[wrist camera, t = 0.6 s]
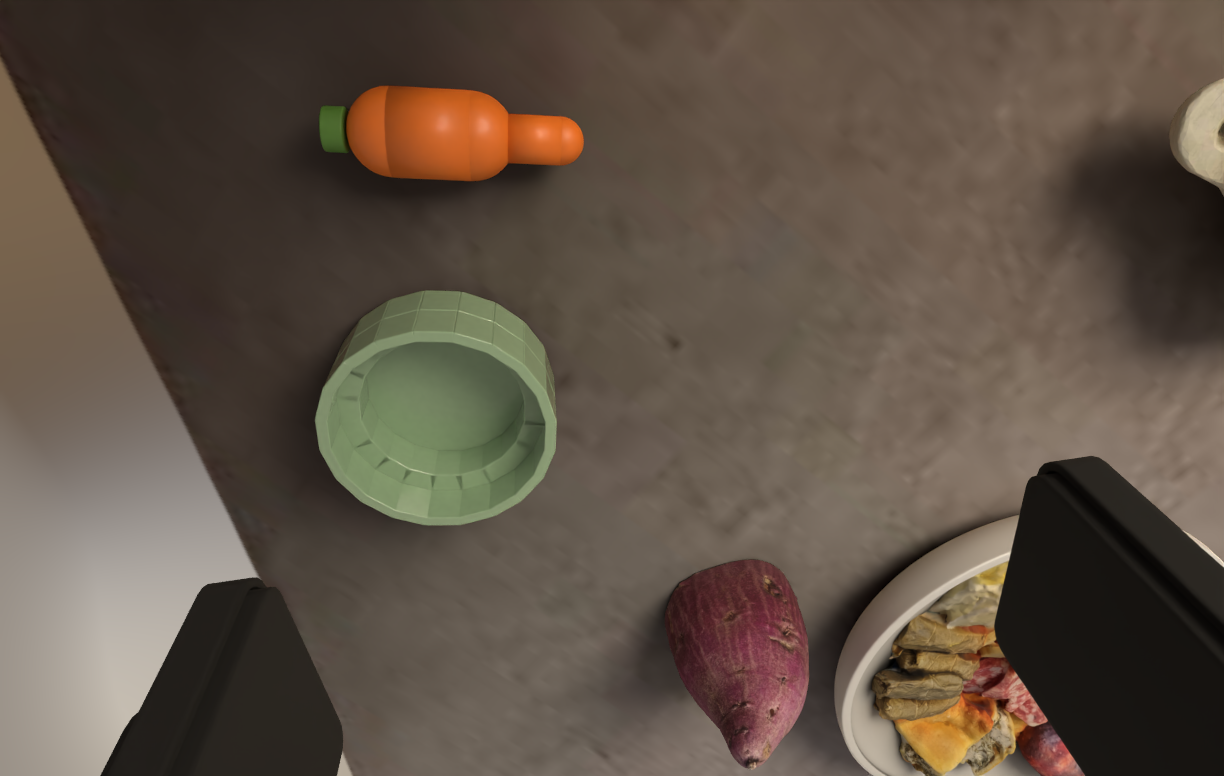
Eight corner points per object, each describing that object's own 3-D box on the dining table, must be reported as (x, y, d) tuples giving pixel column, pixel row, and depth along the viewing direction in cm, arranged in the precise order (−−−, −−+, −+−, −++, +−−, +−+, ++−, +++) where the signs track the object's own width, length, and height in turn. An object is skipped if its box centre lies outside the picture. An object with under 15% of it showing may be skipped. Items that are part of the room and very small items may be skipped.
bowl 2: (743, 674, 60) (770, 767, 54) (1048, 413, 49) (1130, 488, 43) (971, 779, 72) (1017, 866, 65) (1259, 586, 61) (1350, 667, 54)
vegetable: (639, 582, 58) (604, 747, 45) (748, 520, 54) (747, 681, 41) (721, 670, 61) (712, 851, 47) (832, 617, 57) (857, 799, 43)
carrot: (338, 161, 37) (319, 185, 33) (328, 74, 35) (307, 90, 31) (578, 173, 38) (583, 197, 35) (583, 90, 36) (589, 106, 33)
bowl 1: (326, 282, 40) (300, 328, 35) (556, 288, 41) (560, 334, 37) (350, 466, 46) (330, 526, 42) (549, 466, 48) (552, 524, 43)
